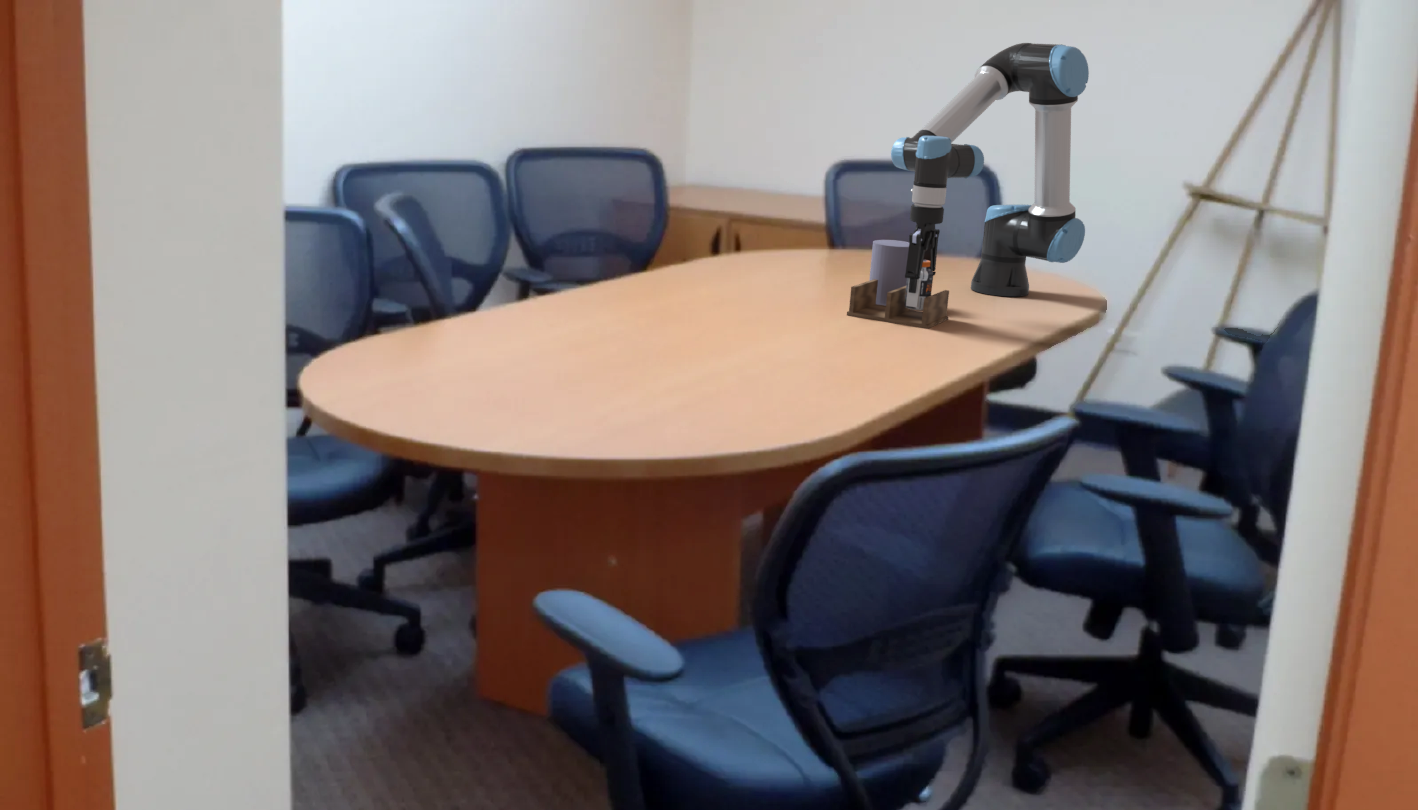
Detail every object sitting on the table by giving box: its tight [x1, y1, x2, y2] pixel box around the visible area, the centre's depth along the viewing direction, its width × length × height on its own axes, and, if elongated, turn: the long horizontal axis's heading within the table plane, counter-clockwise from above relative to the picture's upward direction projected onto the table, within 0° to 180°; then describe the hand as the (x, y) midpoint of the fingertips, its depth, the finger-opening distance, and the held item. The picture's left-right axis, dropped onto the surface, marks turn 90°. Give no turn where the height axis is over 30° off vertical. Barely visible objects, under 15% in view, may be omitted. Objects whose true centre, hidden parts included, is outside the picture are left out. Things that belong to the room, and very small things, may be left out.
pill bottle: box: [904, 260, 934, 311], centre depth 314 cm, size 6×6×11 cm
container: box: [868, 239, 909, 306], centre depth 332 cm, size 10×10×15 cm
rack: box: [846, 279, 950, 329], centre depth 317 cm, size 14×20×7 cm
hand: (917, 304), depth 315 cm, fingers closed on pill bottle, 6 cm apart
